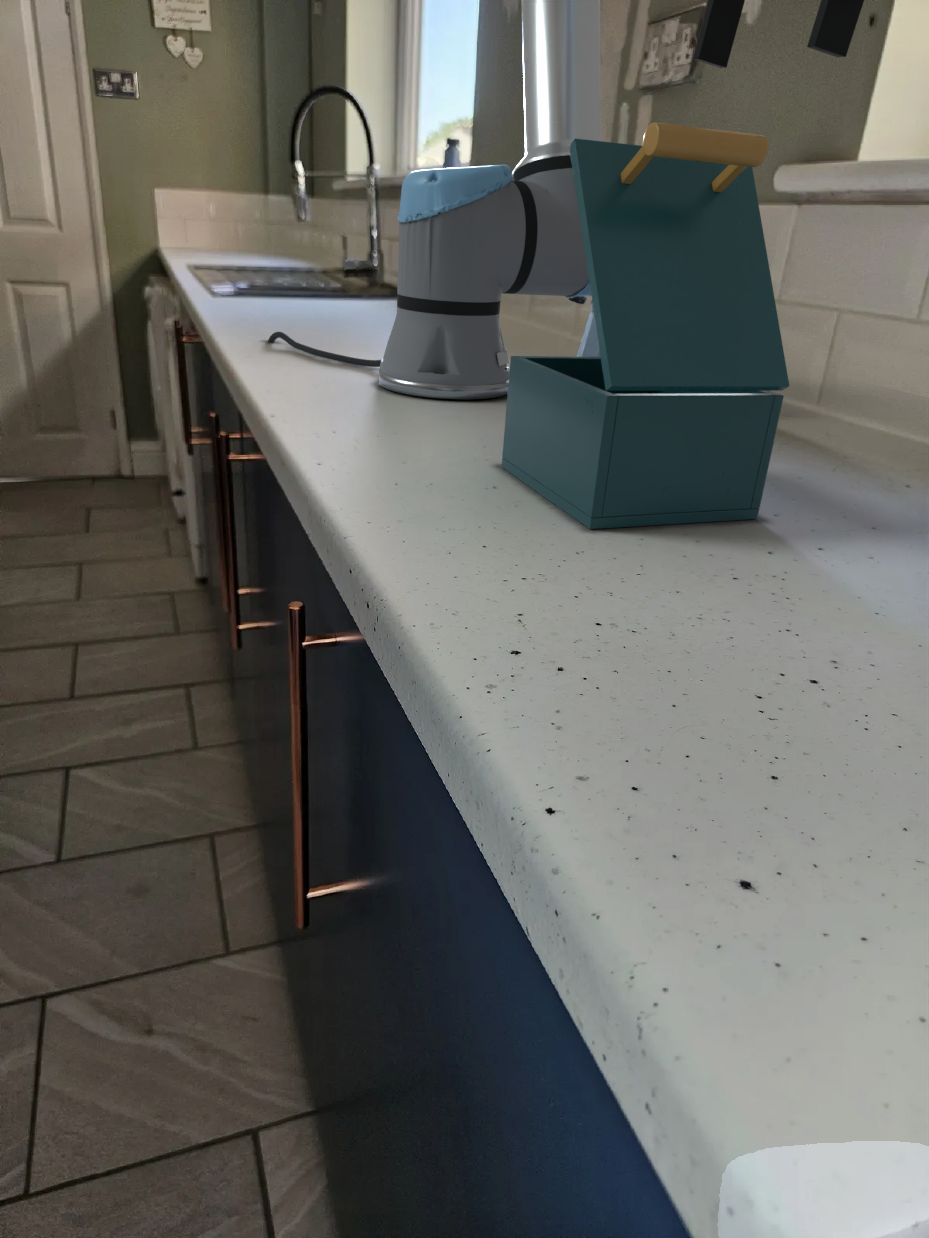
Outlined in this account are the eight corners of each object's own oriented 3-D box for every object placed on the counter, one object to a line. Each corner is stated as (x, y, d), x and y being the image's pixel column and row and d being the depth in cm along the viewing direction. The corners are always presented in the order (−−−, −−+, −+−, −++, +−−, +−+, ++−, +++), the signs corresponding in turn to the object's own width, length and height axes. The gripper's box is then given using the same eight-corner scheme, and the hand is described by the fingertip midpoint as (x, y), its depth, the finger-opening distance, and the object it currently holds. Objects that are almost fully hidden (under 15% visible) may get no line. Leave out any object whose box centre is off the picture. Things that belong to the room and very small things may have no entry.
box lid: (568, 146, 56) (610, 84, 51) (743, 164, 61) (798, 109, 55) (605, 391, 54) (652, 353, 49) (781, 390, 59) (842, 356, 54)
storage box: (501, 466, 71) (510, 355, 67) (645, 462, 76) (661, 357, 72) (589, 529, 58) (607, 396, 54) (757, 519, 63) (784, 395, 59)
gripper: (713, -286, 63) (634, 55, 72) (1006, -483, 42) (842, 29, 51) (794, -245, 66) (708, 78, 75) (1104, -411, 45) (933, 61, 54)
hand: (762, 59), depth 63 cm, fingers open, 13 cm apart
